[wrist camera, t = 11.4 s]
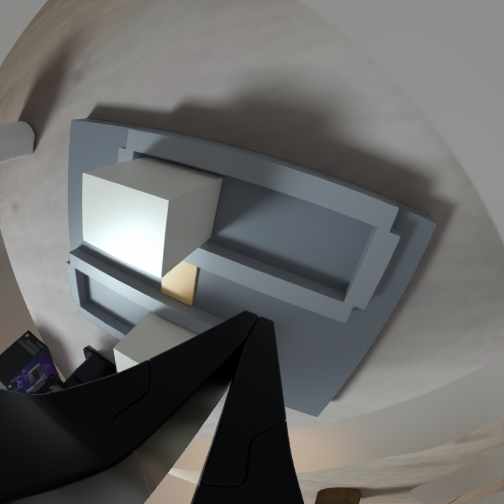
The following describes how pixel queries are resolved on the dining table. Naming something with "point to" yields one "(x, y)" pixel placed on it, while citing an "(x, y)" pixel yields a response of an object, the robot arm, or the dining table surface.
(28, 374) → the box
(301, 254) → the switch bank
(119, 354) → the tab
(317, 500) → the mortar and pestle
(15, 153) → the eye dropper bottle
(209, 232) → the tab
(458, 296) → the dining table surface
